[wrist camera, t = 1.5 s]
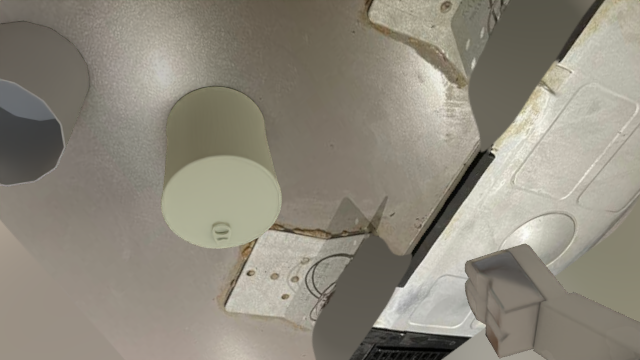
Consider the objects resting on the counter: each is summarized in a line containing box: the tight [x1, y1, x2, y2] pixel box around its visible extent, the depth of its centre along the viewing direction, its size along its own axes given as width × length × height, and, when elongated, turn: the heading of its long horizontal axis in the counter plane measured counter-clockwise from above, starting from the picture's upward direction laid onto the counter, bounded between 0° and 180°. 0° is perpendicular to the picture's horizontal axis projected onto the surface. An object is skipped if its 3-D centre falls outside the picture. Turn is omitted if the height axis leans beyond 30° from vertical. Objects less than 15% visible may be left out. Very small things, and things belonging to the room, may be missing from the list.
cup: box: [0, 21, 90, 187], centre depth 36 cm, size 8×8×10 cm
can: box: [161, 87, 282, 249], centre depth 41 cm, size 9×9×12 cm
